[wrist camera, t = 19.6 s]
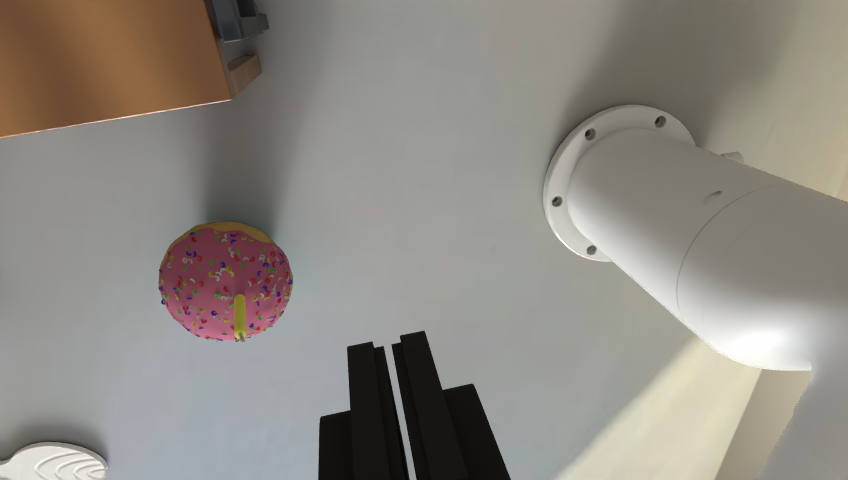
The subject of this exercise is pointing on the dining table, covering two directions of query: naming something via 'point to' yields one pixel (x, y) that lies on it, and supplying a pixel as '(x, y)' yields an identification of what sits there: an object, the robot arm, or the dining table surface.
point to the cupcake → (225, 281)
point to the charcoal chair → (238, 19)
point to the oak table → (110, 61)
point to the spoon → (54, 463)
